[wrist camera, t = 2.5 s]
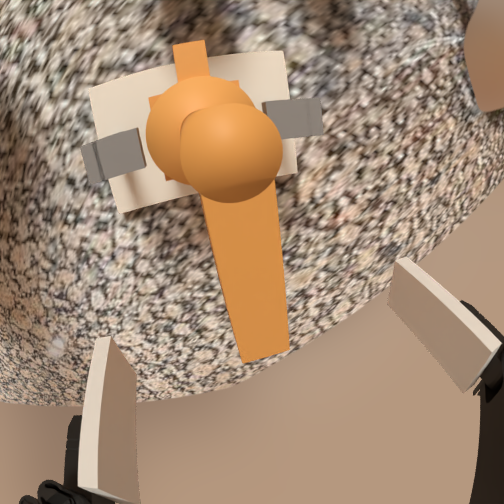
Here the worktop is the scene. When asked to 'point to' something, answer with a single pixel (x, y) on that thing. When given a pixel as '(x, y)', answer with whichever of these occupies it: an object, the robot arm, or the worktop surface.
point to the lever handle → (228, 191)
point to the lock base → (138, 108)
